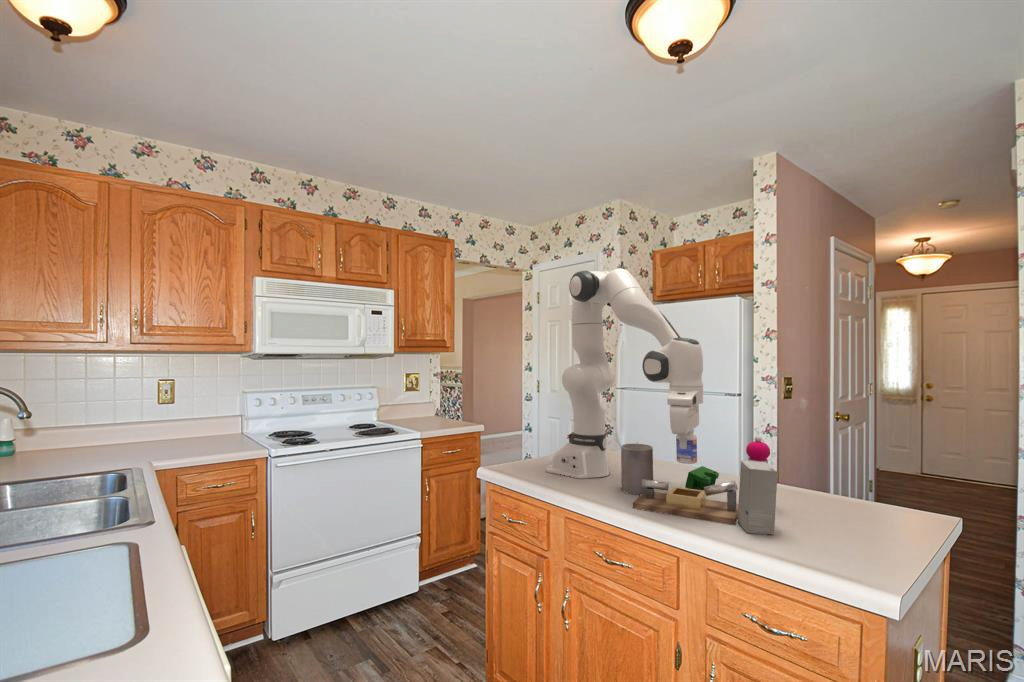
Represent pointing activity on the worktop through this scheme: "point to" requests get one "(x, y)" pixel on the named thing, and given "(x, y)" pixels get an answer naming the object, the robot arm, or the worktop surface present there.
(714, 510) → the shaft stand
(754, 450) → the pepper mill
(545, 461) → the worktop surface
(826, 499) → the worktop surface
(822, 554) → the worktop surface
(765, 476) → the skincare box
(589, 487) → the worktop surface
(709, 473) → the clamp
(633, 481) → the pillar candle
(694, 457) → the pill bottle
